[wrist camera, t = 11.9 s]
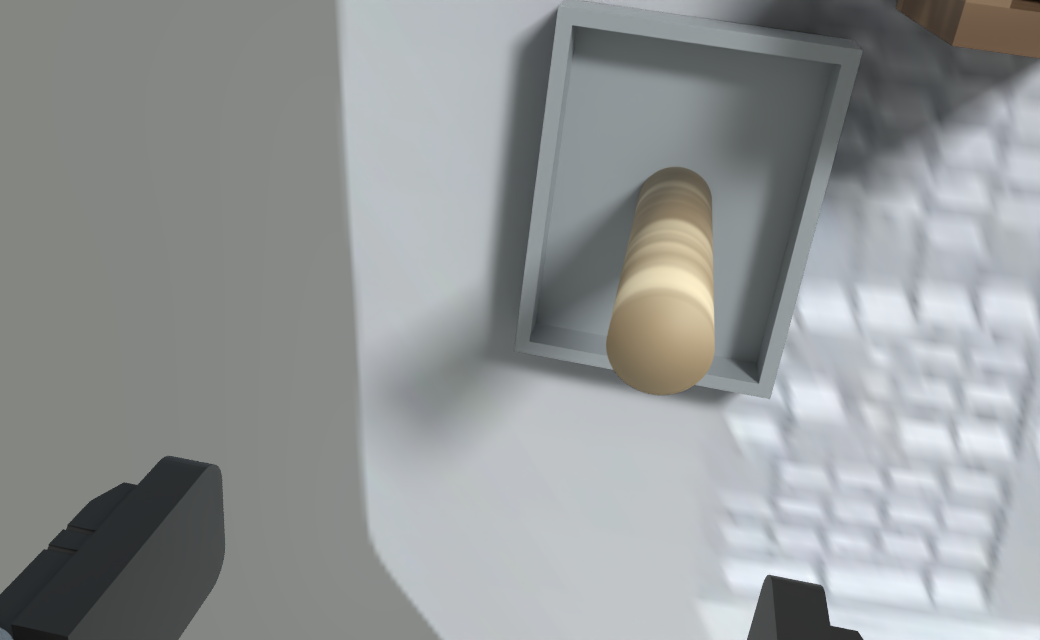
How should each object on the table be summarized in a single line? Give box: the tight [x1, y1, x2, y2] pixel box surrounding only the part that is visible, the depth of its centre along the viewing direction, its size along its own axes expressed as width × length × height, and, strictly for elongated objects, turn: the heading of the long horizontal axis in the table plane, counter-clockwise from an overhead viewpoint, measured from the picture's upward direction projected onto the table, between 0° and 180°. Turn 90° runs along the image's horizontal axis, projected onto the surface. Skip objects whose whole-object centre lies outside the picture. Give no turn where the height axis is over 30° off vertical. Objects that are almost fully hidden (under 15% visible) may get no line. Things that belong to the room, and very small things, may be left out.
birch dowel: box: [606, 167, 715, 395], centre depth 33 cm, size 3×3×14 cm
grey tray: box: [514, 0, 863, 399], centre depth 39 cm, size 14×11×2 cm
